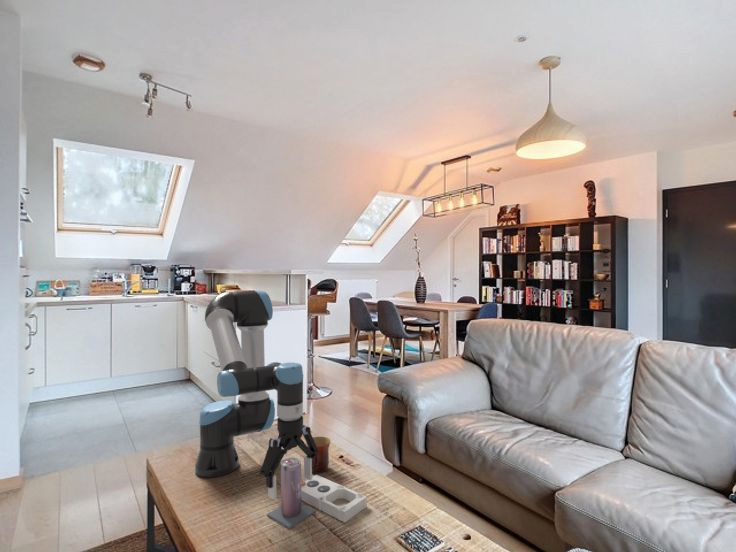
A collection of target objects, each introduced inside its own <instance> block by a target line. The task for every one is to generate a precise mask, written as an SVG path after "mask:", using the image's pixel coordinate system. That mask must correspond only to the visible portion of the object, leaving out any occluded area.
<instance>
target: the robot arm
mask: <svg viewBox="0 0 736 552" xmlns="http://www.w3.org/2000/svg"><path fill="white" fill-rule="evenodd" d="M273 315H274V312H273V303H272V300H271V297H270V295H269V294H268V293H267V292H266V291H264V290H249V291H247V290H245V291H243V290H242V291H226V292H225V291H224V292H222V293H219V294H218V295H216V296H214V298H212V300H210V302H209V303H208V305H207V307H206V310H205V312H204V320H205V321H204V322H205V325H206V327H207V328H208V329H209V330H210V331H211V332H210V333H211V336H212V340H213V342H214V347H215V351H216V354H217V358H218V362H219V366H220V369H221V371H220V372H218V373H217V377H216V388H217V392H218V395H219V397H223V398H228V397H236V396H238V397H237V398H238V399H237V400H238V401H237V403H234V402H233V401H232V400H229V399H225V400H218V401H215V402H212V403H209V404H207V405H205V406H204V407H203V408H202V409H201V410H200V413H199V452H198V454H197V458H196V461H195V464H194V471H195V474H196V475H197V476H199V477H202V478H219V477H222V476H225V475H229V474H230V473H232V472H234V471H235V470H236V469H238V467H239V465H240V459H239V455H238V453H237V449H236V447H235V443H234V442H235V440H234V438H235V437H240V436H245V435H249V434H254V433H261V432H262V431H266V430H269V429H270V428H271V427H272V426H273V424H274V421H275V417H276V416H277V417H278V418H276V419H277V420H276V421H277V424H276V425H277V426H276V427H277V432H278V437H277V438H269V441H268V448H267V450H266V453H265V457H264V459H263V462H262V465H261V468H260V471H259V475H260V476H262V477H264V478H265V483H266V484H265V485H266V488H267V497H268V498H271V500H277V475H276V474H275V473H276V471H277V470H278V468H279V465H281V462H282V461H283V458H284V456H285V455H286V454H287V453H288V451H291V450H292V449H293V448H294V449H295V448H297V447H298V448H299V449H300V450H301V451H302V452H303V453H304V456H303V476H304V477H303V478H305V479H306V480H312V477H313V472H312V467H313V458H315V457H316V454H315V453H318V448H317V446H316V444H315V442H314V440H313V437H314V436H312V432H311V427H310V426H308V425H305V424H304V417H303V415H304V371H303V365H302V364H301V363H298V362H284V363H281V362H278V361H274V362H269V363H268V364H267V365H265V364H266V362H265V331H264V330H265V329H266V328H267V327H268V324H269V323H268V321H270V320H272V318H273ZM234 323H236V327H237V329H239V330H240V341H239V336H238V335H237V332H236V328H235V325H234ZM273 390H275V391H276V394H277V395H276V398H277V401H276V407H275V401H274V399H273V398H272V397H270V394H269V393H268V392H267V391H273ZM276 409H277V411H276ZM276 413H277V415H276ZM302 437H303V438H304V440H305V441H304V440H303V439H302ZM306 442H307V443H306ZM307 444H308V447H309V448H308V447H307Z"/></svg>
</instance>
